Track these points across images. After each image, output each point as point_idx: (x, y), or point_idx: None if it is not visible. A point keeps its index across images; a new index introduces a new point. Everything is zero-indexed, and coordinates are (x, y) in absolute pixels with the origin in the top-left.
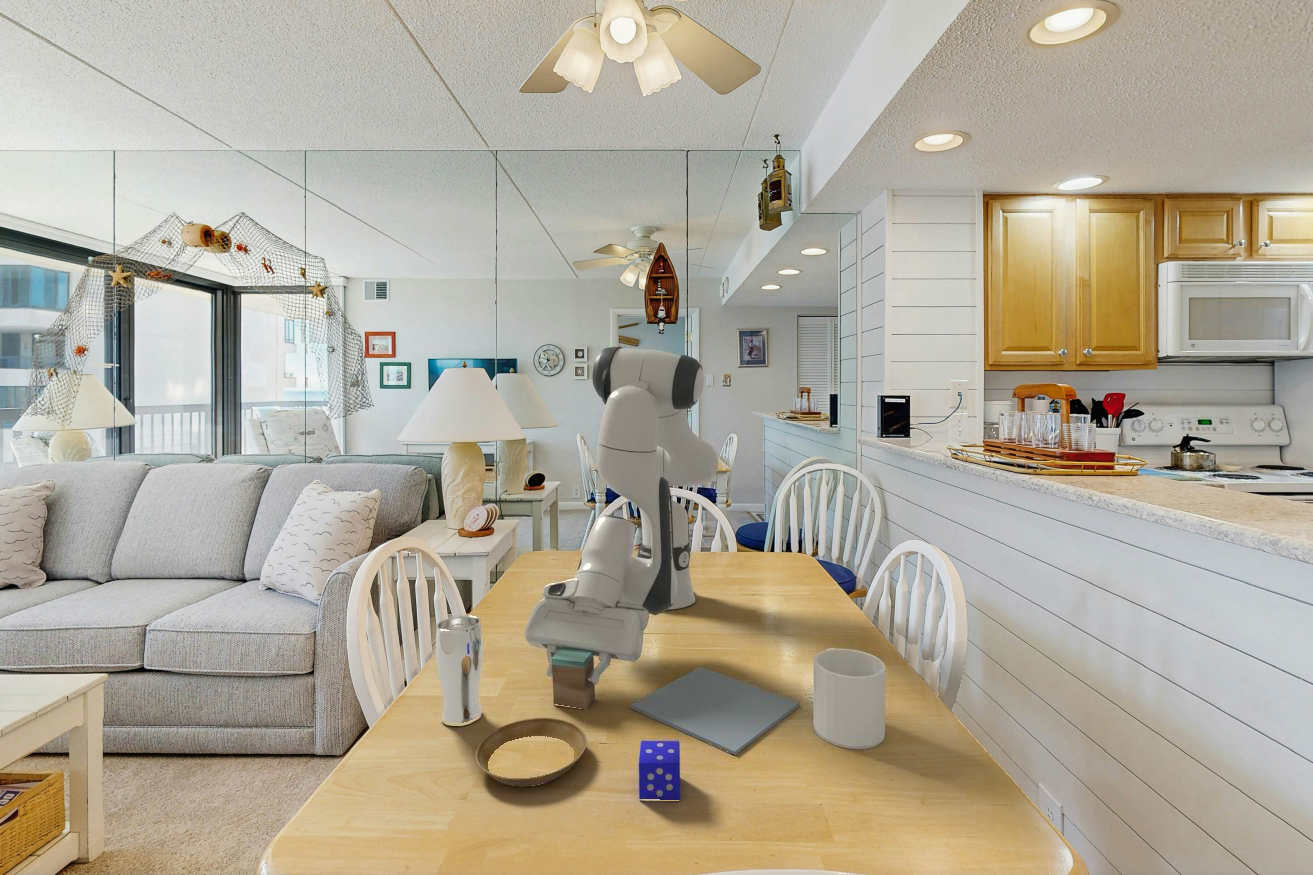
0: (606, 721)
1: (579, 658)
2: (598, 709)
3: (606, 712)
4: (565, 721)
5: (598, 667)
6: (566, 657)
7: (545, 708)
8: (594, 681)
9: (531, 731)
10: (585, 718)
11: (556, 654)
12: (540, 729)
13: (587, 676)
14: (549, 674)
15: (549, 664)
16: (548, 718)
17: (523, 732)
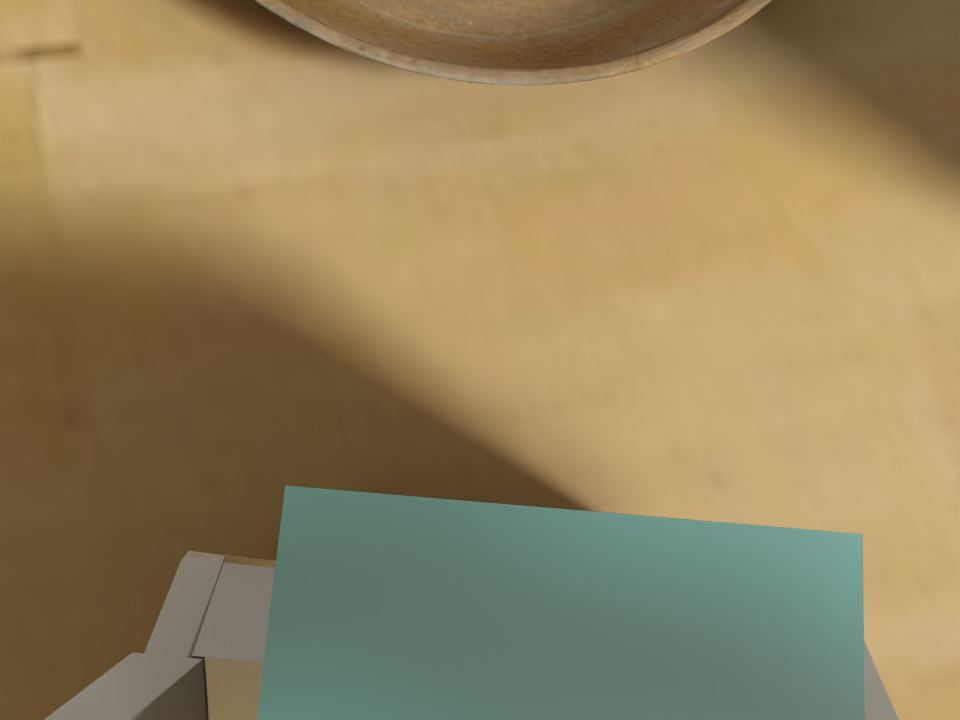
0: (95, 361)
1: (398, 610)
2: (218, 549)
3: (131, 509)
4: (364, 46)
5: (118, 682)
6: (633, 603)
7: (684, 482)
8: (192, 552)
9: (623, 36)
10: (291, 379)
11: (844, 691)
12: (564, 57)
13: None
14: None
15: (878, 696)
16: (528, 74)
17: (675, 13)
